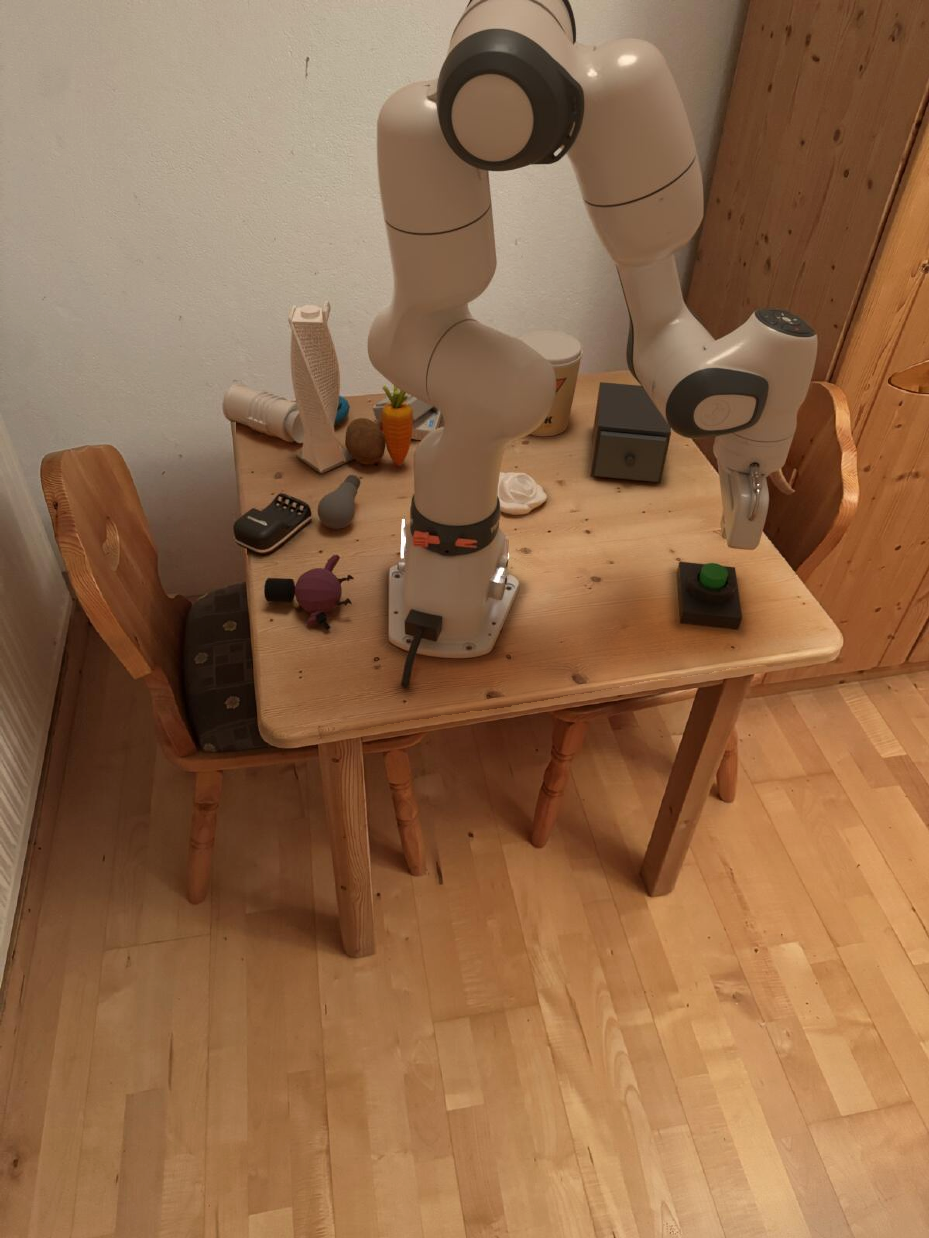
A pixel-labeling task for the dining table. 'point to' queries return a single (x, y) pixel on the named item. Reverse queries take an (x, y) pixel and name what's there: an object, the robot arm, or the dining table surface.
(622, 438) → the drawer
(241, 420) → the white ribbed cylinder
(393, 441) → the carrot
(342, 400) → the ornament
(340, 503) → the light bulb
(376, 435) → the potato
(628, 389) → the cabinet
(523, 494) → the rose
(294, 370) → the skyscraper
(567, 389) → the coffee cup
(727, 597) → the control block
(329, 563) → the figurine
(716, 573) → the button
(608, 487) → the dining table surface
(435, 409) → the ink cartridge box
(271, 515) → the battery charger
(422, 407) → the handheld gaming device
